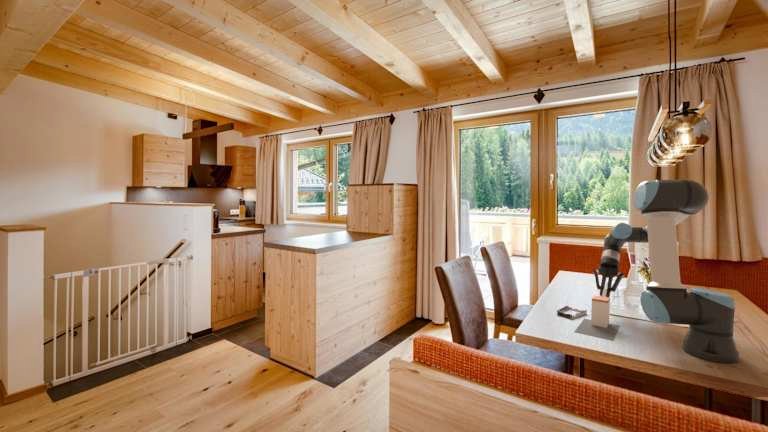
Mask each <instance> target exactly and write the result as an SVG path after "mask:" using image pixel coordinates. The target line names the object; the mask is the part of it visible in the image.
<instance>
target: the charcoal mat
mask: <svg viewBox="0 0 768 432" xmlns="http://www.w3.org/2000/svg"><path fill="white" fill-rule="evenodd" d="M620 327H621V325H619V324H614V323H609V325H608V327H607V328H604V327H599V326H594V325H591V319H588V318H583V320H582V321H581V323H580V324H579V325H578V326H577V327H576V329H575V330H574V331H573V332H574V333H576V334H581V335H586V336H589V337H594V338H599V339H604V340H606V341H607V340H608V341H612V342H613V341H615V338H616V335H617V334H618V331H619V329H620Z"/></svg>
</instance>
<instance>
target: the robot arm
mask: <svg viewBox="0 0 768 432" xmlns="http://www.w3.org/2000/svg"><path fill="white" fill-rule="evenodd" d="M634 191H635V192H634V195H633V206H634V208H635V210H637V211H640V212H641V216H642V218H644V219H645V220H646V225H645V226H631V225H630V224H628V223H625V222H618V223H616V224H615V225H614V226H613V227H612V228H611V230H610V233H608V234H606V236H605V237H604V240H603V247H602V248H603V249H602V254H601V257H600V259H601V260H600V264H599V265H600V266H599V267H598V269H592V274H593V275H594V277H595V284H596V289H597V290H600V291H599V296H602V297H608V298H610V296H611V292H614V293H615V292H616V291H617V288H618V287H619V285H620V283H621V280H623V279H624V278H625V273H624V272H620V269H619V265H620V259H621V252H622V248H623V247H624V245H625V244H626V243H631V244H633V243H636V244H637V243H639V244H643V243H645V244H648V256H649V269H650V282H649V283H648V284H647V285H646V290H643V291H641V294H640V297H639V298H640V299H639V300H640V301H639V302H640V305H641V309H642V311H643V313H644V314H645V317H647V318H648V320H650V321H652V322H653V323H657V324H665V325H670V324H671V325H684V326H685V325H687V326H688V327H689V328H688V329H687V332H686V334H685V336H684V339H683V340H682V343H681V344H682V345H681V348H682V350H683V351H685V352H686V353H687V354H690V355H691V356H694V357H697V358H700V359H702V360H707V361H711V362H714V363H721V364H722V363H723V364H736V363H739V361H740V351H739V350H738V348H737V346H736V343H735V339H734V325H735V322H734V321H735V311H736V307H735V305H736V304H735V298H733V296H731V295H730V294H727V293H724V292H721V291H717V290H712V289H708V288H703V287H702V288H701V287H692V288H690V290H689V291H690V292H688V291H687V287H686V286H685V285H684V284H682V281H681V273H680V272H681V271H680V262H679V261H680V260H679V250H678V237H677V235H678V234H677V225H679V224H680V223H682V222H683V221H684V220H685V219H687V218H688V217H690V216H694V215H696V214H699V213H700V212H702V210H703V209H705V208H706V206H707V205H708V203H709V200H710V198H709V197H710V196H709V192H708V190H707V188H706V187H705V186H704V185H703V184H702V183H700V182H699V181H696V180H692V179H653V180H645V181H642V182H640V183H639V184H638V186H637V187H636V189H635V190H634ZM599 274H600V275H601V276H602V277H601V283H600V281H599ZM615 277H616V278H615ZM607 278H608V281H607ZM613 278H615V281H614V282H613V280H614V279H613ZM606 281H607V287H606ZM605 287H606V288H605Z"/></svg>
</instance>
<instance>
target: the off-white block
mask: <svg viewBox="0 0 768 432" xmlns="http://www.w3.org/2000/svg"><path fill="white" fill-rule="evenodd" d="M610 303H611V298H610V297H609V298H608V297H602V296H600V295H593V296H592V297H591V314H590V315H591V316H590V318H591V319H590V320H591V325H594V326H599V327H604V328H607V327H608V325H609V324H610V313H611V312H610V308H611V304H610Z"/></svg>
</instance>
